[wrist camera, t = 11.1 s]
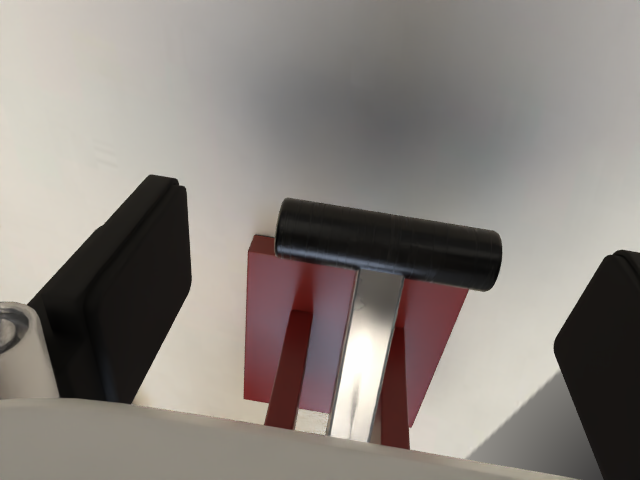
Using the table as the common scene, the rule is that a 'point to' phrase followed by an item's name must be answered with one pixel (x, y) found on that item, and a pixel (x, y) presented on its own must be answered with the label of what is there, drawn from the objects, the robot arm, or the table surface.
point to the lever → (379, 285)
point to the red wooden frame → (335, 341)
